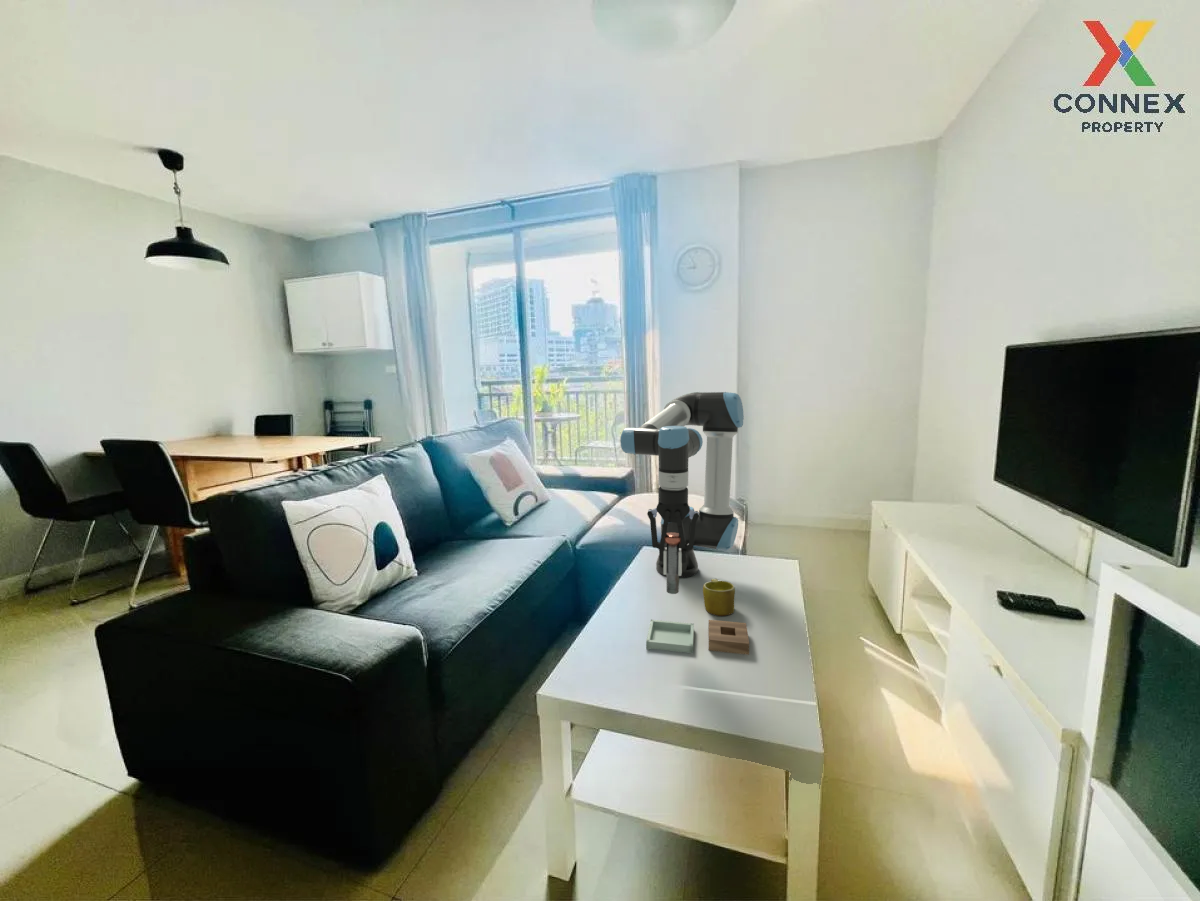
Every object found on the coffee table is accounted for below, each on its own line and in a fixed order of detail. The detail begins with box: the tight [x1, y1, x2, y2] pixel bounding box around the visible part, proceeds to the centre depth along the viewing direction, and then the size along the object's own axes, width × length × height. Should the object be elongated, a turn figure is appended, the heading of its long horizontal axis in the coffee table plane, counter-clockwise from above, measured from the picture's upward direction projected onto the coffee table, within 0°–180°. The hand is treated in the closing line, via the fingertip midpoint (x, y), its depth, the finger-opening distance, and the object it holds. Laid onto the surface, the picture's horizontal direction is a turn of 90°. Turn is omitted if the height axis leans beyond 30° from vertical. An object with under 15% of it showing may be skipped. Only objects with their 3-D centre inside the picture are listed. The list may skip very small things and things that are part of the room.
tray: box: [645, 619, 695, 654], centre depth 126 cm, size 11×12×2 cm
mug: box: [702, 578, 736, 617], centre depth 142 cm, size 12×10×10 cm
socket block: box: [707, 619, 750, 656], centre depth 124 cm, size 10×10×4 cm
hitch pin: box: [664, 532, 681, 595], centre depth 123 cm, size 5×5×16 cm
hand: (672, 572), depth 123 cm, fingers closed on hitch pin, 3 cm apart
